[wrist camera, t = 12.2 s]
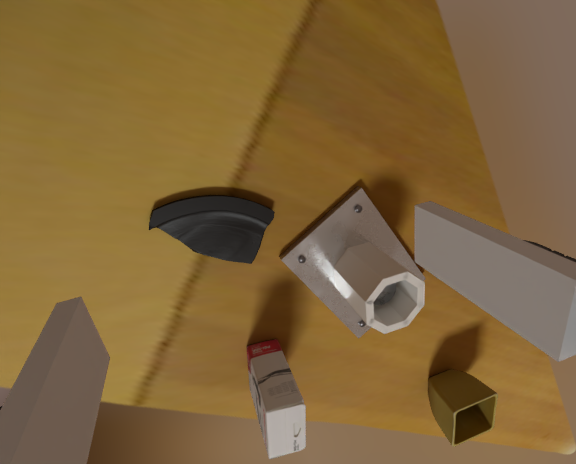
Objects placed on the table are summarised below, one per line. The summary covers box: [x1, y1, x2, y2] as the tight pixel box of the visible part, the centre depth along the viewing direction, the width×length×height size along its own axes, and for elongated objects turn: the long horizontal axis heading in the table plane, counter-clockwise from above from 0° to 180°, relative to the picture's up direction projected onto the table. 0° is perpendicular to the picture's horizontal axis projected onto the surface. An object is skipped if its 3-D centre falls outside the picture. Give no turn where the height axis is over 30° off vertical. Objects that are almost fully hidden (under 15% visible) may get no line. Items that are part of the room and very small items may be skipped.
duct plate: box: [279, 186, 425, 338], centre depth 48 cm, size 20×14×7 cm
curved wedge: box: [149, 195, 275, 264], centre depth 42 cm, size 8×14×2 cm, turn 67°
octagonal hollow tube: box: [333, 242, 425, 334], centre depth 46 cm, size 8×8×9 cm
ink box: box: [247, 339, 306, 459], centre depth 47 cm, size 9×5×12 cm, turn 2°
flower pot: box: [429, 369, 498, 447], centre depth 63 cm, size 9×9×9 cm
